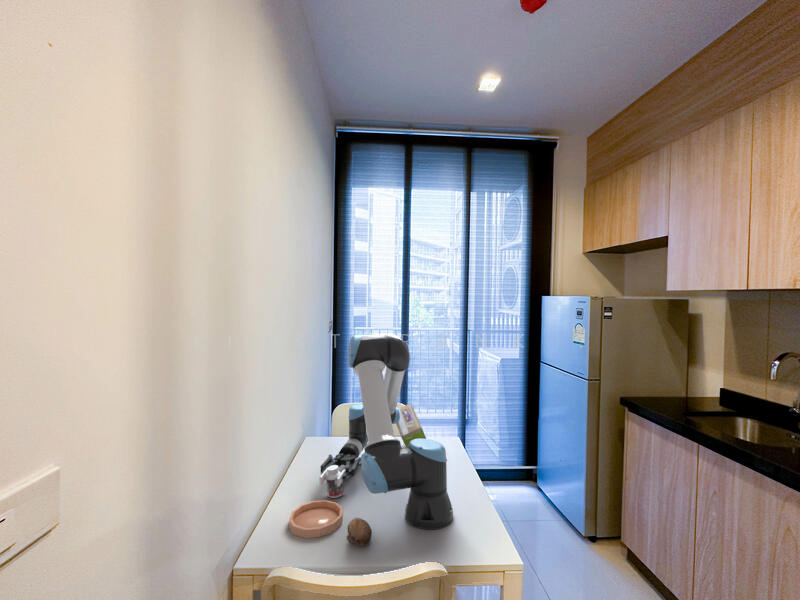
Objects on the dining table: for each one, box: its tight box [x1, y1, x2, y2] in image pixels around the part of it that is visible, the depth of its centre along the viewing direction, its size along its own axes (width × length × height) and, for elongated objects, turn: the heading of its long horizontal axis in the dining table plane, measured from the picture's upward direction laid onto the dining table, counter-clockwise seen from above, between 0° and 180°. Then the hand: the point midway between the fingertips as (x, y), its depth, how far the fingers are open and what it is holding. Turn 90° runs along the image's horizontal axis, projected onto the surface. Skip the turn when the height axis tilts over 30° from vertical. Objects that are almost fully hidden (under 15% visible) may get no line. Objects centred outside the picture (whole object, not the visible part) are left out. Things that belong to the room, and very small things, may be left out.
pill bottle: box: [325, 465, 344, 499], centre depth 131 cm, size 5×5×10 cm
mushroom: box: [346, 517, 373, 547], centre depth 105 cm, size 8×8×6 cm
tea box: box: [395, 403, 427, 448], centre depth 169 cm, size 15×10×15 cm
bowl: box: [288, 499, 344, 539], centre depth 115 cm, size 16×16×2 cm
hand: (329, 481), depth 127 cm, fingers closed on pill bottle, 6 cm apart
